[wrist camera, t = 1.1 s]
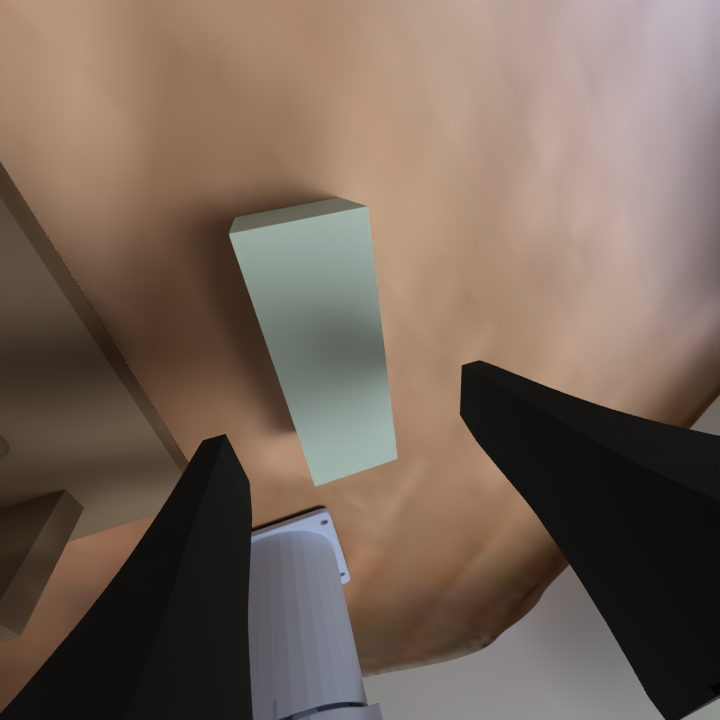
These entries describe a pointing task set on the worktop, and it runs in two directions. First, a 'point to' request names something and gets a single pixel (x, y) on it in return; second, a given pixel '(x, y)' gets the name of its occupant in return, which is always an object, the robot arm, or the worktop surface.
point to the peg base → (63, 419)
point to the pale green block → (322, 329)
